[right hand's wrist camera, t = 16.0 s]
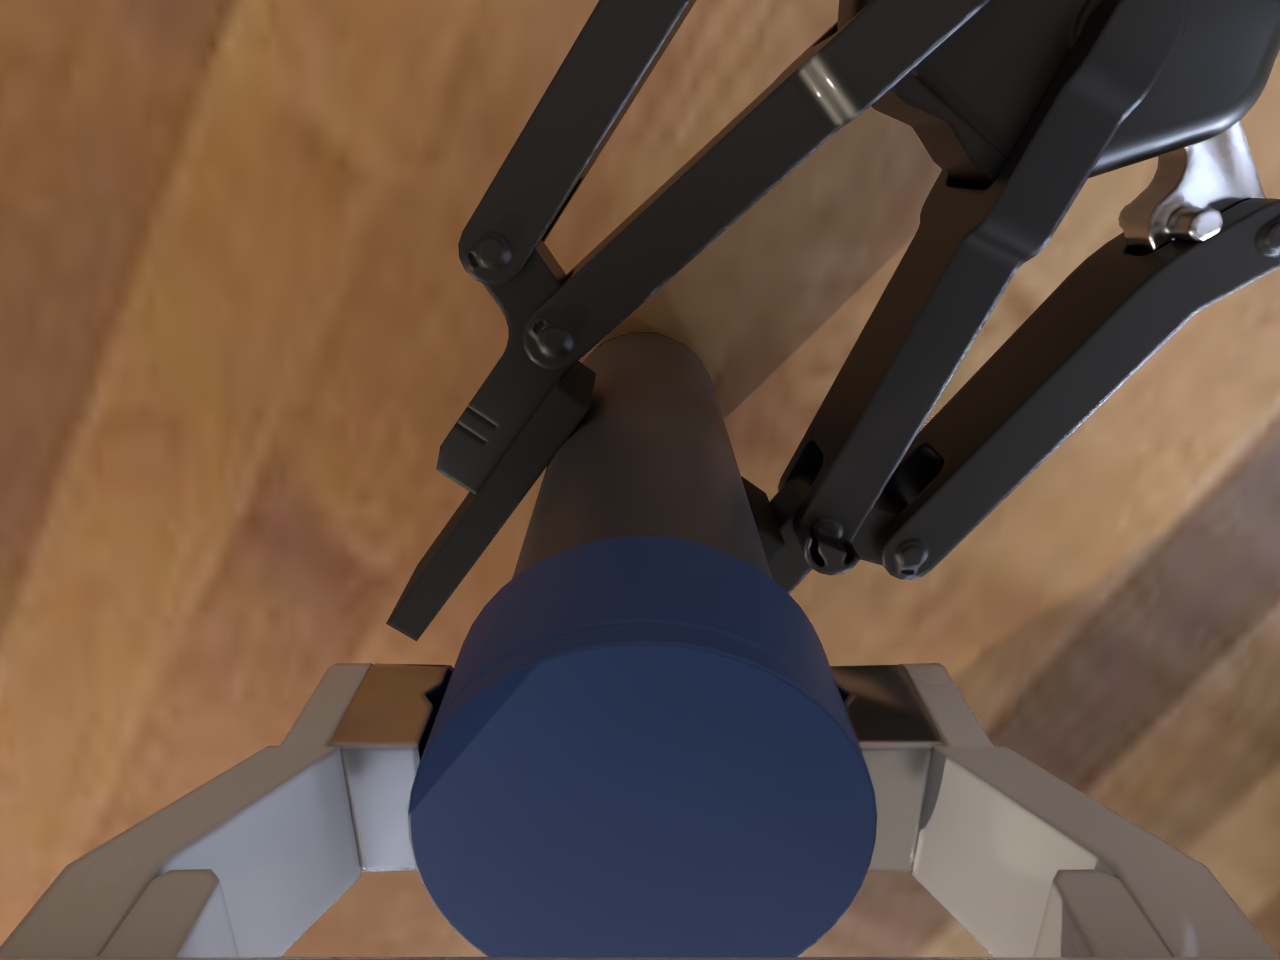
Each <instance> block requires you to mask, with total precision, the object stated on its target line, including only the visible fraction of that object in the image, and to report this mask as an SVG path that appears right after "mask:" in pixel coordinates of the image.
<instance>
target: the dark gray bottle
mask: <svg viewBox="0 0 1280 960" xmlns="http://www.w3.org/2000/svg"><path fill="white" fill-rule="evenodd" d="M582 364H584V365H585V366H587V367H588V368H589V369H591V370H592V371H594V372H595V373H596V377H595V383H594V388H593V394H592V399H591V404H590V409H589V410H588V412H587V413H586V414H585V416H584V417H583V418H582V420H581V421H580V422H579V424H578V425H577V426H576V428H575V429H574V430H573V432H572V433H571V434H570V436H569V437H568V438H567V440H566V441H565V442H564V444H563V445H562V447H561V448H560V449H559V450H558V451H557V453H556V454H555V456H554V457H553V459H552V460H551V461H550V463H549V464H548V465H547V469H546V472H545V475H544V478H543V481H542V485H541V488H540V491H539V494H538V498H537V501H536V504H535V507H534V510H533V514H532V517H531V520H530V523H529V527H528V530H527V533H526V536H525V540H524V543H523V546H522V549H521V552H520V556H519V559H518V562H517V565H516V569H515V572H514V575H513V578H512V579H514V578H515V577H516V576H517V575H518V574H520V573H521V572H523V571H525V570H526V569H528V568H530V567H531V566H533V565H534V564H536V563H538V562H539V561H541V560H543V559H545V558H548V557H550V556H552V555H554V554H557V553H559V552H561V551H563V550H566V549H569V548H572V547H575V546H579V545H582V544H585V543H588V542H593V541H598V540H604V539H609V538H615V537H630V536H655V537H670V538H675V539H681V540H686V541H692V542H696V543H699V544H703V545H706V546H709V547H712V548H716V549H719V550H721V551H724V552H726V553H728V554H730V555H732V556H735V557H737V558H739V559H741V560H744V561H745V562H747V563H749V564H750V565H752V566H753V567H755V568H757V569H758V570H760V571H761V572H763V573H765V574H766V575H767V576H769V577H770V578H771V579H772V580H773V578H772V575H771V572H770V568H769V565H768V562H767V559H766V556H765V552H764V549H763V546H762V543H761V539H760V536H759V533H758V530H757V527H756V523H755V520H754V517H753V514H752V511H751V507H750V504H749V501H748V498H747V494H746V491H745V488H744V485H743V482H742V478H741V475H740V472H739V469H738V466H737V462H736V459H735V456H734V453H733V449H732V446H731V443H730V440H729V437H728V433H727V430H726V427H725V424H724V421H723V417H722V414H721V411H720V408H719V404H718V401H717V398H716V395H715V392H714V388H713V385H712V382H711V379H710V377H709V374H708V372H707V370H706V369H705V367H704V365H703V364H702V362H701V361H700V360H699V358H698V357H697V356H696V355H695V354H694V353H693V352H692V351H691V350H689V349H688V348H687V347H686V346H684V345H683V344H681V343H679V342H678V341H676V340H673V339H671V338H669V337H666V336H662V335H659V334H653V333H631V334H626V335H622V336H619V337H616V338H614V339H611V340H609V341H607V342H606V343H604V344H602V345H601V346H599V347H598V348H597V349H595V350H594V351H593V352H592V353H591V354H590V355H589V356H588V357H587V358H586V360H585V361H584V362H583V363H582Z"/></svg>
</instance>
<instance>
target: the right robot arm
mask: <svg viewBox="0 0 1280 960" xmlns="http://www.w3.org/2000/svg"><path fill="white" fill-rule="evenodd" d="M830 668H831V671H832V673H833V676H834V679H835V681H836V684H837V687H838V689H839V692H840V695H841V697H842V700H843V703H844V705H845V708H846V711H847V714H848V716H849V719H850V722H851V724H852V727H853V730H854V732H855V735H856V738H857V740H858V744H859V747H860V749H861V751H862V754H863V757H864V759H865V762H866V765H867V767H868V770H869V774H870V777H871V781H872V784H873V788H874V791H875V799H876V808H877V830H876V842H875V846H874V850H873V855H872V859H871V863H870V866H869V869H868V871H900V872H913V874H912V875H913V876H914V878H915V879H916V880H917V881H918V882H919V883H920V884H921V885H922V886H923V887H924V888H925V889H926V890H927V891H928V892H929V893H930V894H931V895H932V896H933V897H934V898H935V899H936V900H937V901H938V902H939V903H940V904H941V905H942V906H943V907H944V908H945V909H946V910H947V911H948V912H949V913H950V914H951V915H952V916H953V917H954V918H955V919H956V920H957V921H958V922H959V923H960V924H961V925H962V926H963V927H964V928H965V929H966V930H967V931H968V932H969V933H970V934H971V935H972V936H973V937H974V938H975V939H976V940H977V941H978V942H979V943H980V944H981V945H982V946H983V947H984V948H985V949H986V950H987V951H988V952H989V953H990V954H991V955H992V956H993V957H281V956H282V955H283V954H284V953H285V952H286V951H287V950H288V949H289V948H290V947H291V946H292V945H293V944H294V943H295V942H296V941H297V940H298V939H299V938H300V937H301V936H302V935H303V934H304V933H305V932H306V931H307V930H308V929H309V928H310V927H311V926H312V925H313V924H314V923H315V922H316V921H317V920H318V919H319V918H320V917H321V916H322V915H323V914H324V913H325V912H326V911H327V910H328V909H329V908H330V907H331V906H332V905H333V904H334V903H335V902H336V901H337V900H338V899H339V898H340V897H341V896H342V895H343V894H344V893H345V892H346V891H347V890H348V889H349V888H350V887H351V886H352V885H353V884H354V883H355V882H356V881H357V880H358V879H359V878H360V877H361V872H374V871H408V870H417V868H416V866H415V863H414V858H413V854H412V849H411V845H410V840H409V826H408V810H409V802H410V794H411V789H412V785H413V782H414V779H415V775H416V772H417V769H418V766H419V763H420V760H421V757H422V755H423V752H424V749H425V747H426V744H427V741H428V738H429V735H430V733H431V730H432V727H433V724H434V722H435V719H436V716H437V713H438V711H439V708H440V705H441V702H442V700H443V697H444V694H445V691H446V689H447V686H448V683H449V680H450V678H451V675H452V672H453V669H454V668H453V667H452V665H418V664H374V665H373V664H371V663H347V664H335V665H333V666H331V667H329V668H328V669H327V671H326V672H325V674H324V676H323V677H322V679H321V680H320V682H319V684H318V685H317V687H316V689H315V690H314V692H313V693H312V695H311V697H310V698H309V700H308V702H307V703H306V705H305V706H304V708H303V710H302V711H301V713H300V715H299V716H298V718H297V719H296V721H295V723H294V724H293V726H292V727H291V729H290V731H289V732H288V734H287V736H286V737H285V739H284V740H283V742H282V744H281V745H280V746H267V747H266V748H264V749H262V750H261V751H259V752H257V753H256V754H254V755H252V756H250V757H249V758H247V759H245V760H244V761H242V762H240V763H239V764H237V765H235V766H234V767H232V768H230V769H229V770H227V771H225V772H224V773H222V774H220V775H218V776H217V777H215V778H213V779H212V780H210V781H208V782H207V783H205V784H203V785H202V786H200V787H198V788H197V789H195V790H193V791H192V792H190V793H188V794H186V795H185V796H183V797H181V798H180V799H178V800H176V801H175V802H173V803H171V804H170V805H168V806H166V807H165V808H163V809H161V810H160V811H158V812H156V813H154V814H153V815H151V816H149V817H148V818H146V819H144V820H143V821H141V822H139V823H138V824H136V825H134V826H133V827H131V828H129V829H128V830H126V831H124V832H122V833H121V834H119V835H117V836H116V837H114V838H112V839H111V840H109V841H107V842H106V843H104V844H102V845H101V846H99V847H97V848H96V849H94V850H92V851H90V852H89V853H87V854H85V855H84V856H82V857H80V858H79V859H77V860H75V861H74V862H72V863H70V864H69V865H67V866H66V867H65V868H64V869H63V871H62V872H61V873H60V874H59V876H58V877H57V878H56V879H55V880H54V882H53V883H52V884H51V885H50V887H49V888H48V889H47V890H46V892H45V893H44V894H43V895H42V896H41V898H40V899H39V900H38V901H37V903H36V904H35V905H34V906H33V907H32V909H31V910H30V911H29V912H28V914H27V915H26V916H25V917H24V919H23V920H22V921H21V922H20V923H19V925H18V926H17V927H16V928H15V930H14V931H13V932H12V933H11V934H10V936H9V937H8V938H7V939H6V941H5V942H4V943H3V944H2V946H1V947H0V960H1280V957H1278V956H1277V955H1276V953H1275V952H1274V951H1273V950H1272V948H1271V947H1270V946H1269V944H1268V943H1267V942H1266V941H1265V939H1264V938H1263V937H1262V936H1261V934H1260V933H1259V932H1258V931H1257V929H1256V928H1255V927H1254V926H1253V924H1252V923H1251V922H1250V921H1249V919H1248V918H1247V917H1246V916H1245V914H1244V913H1243V912H1242V911H1241V909H1240V908H1239V907H1238V906H1237V904H1236V903H1235V902H1234V901H1233V899H1232V898H1231V897H1230V896H1229V894H1228V893H1227V892H1226V891H1225V889H1224V888H1223V887H1222V886H1221V884H1220V883H1219V882H1218V880H1217V879H1216V878H1215V877H1214V875H1213V874H1212V873H1211V872H1210V870H1209V869H1208V868H1207V867H1206V866H1204V865H1202V864H1201V863H1199V862H1197V861H1196V860H1194V859H1192V858H1191V857H1189V856H1187V855H1186V854H1184V853H1182V852H1181V851H1179V850H1177V849H1176V848H1174V847H1172V846H1171V845H1169V844H1167V843H1166V842H1164V841H1163V840H1161V839H1159V838H1158V837H1156V836H1154V835H1153V834H1151V833H1149V832H1148V831H1146V830H1144V829H1143V828H1141V827H1139V826H1138V825H1136V824H1134V823H1133V822H1131V821H1129V820H1128V819H1126V818H1124V817H1123V816H1121V815H1119V814H1118V813H1116V812H1114V811H1113V810H1111V809H1109V808H1108V807H1106V806H1104V805H1103V804H1101V803H1099V802H1098V801H1096V800H1094V799H1093V798H1091V797H1089V796H1088V795H1086V794H1084V793H1083V792H1081V791H1079V790H1078V789H1076V788H1074V787H1073V786H1071V785H1069V784H1068V783H1066V782H1064V781H1063V780H1061V779H1059V778H1058V777H1056V776H1054V775H1053V774H1051V773H1049V772H1048V771H1046V770H1044V769H1043V768H1041V767H1039V766H1038V765H1036V764H1034V763H1033V762H1031V761H1029V760H1028V759H1026V758H1024V757H1023V756H1021V755H1019V754H1018V753H1016V752H1014V751H1013V750H1011V749H1009V748H1008V747H1006V746H993V745H992V743H991V742H990V740H989V738H988V737H987V735H986V733H985V732H984V730H983V729H982V727H981V725H980V724H979V722H978V720H977V719H976V717H975V715H974V714H973V712H972V711H971V709H970V707H969V706H968V704H967V702H966V701H965V699H964V698H963V696H962V694H961V693H960V691H959V689H958V688H957V686H956V684H955V683H954V681H953V680H952V678H951V676H950V675H949V673H948V671H947V670H946V668H945V667H944V666H942V665H941V664H939V663H920V664H899V665H868V666H830Z"/></svg>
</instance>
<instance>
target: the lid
mask: <svg viewBox="0 0 1280 960" xmlns="http://www.w3.org/2000/svg"><path fill="white" fill-rule="evenodd" d="M408 826H409V840H410V845H411V849H412V854H413V858H414V863H415V866H416V868H417V871H418V873H419V875H420V878H421V880H422V883H423V885H424V887H425V889H426V891H427V892H428V894H429V896H430V897H431V899H432V901H433V902H434V904H435V906H436V907H437V908H438V910H439V911H440V912H441V913H442V915H443V916H444V917H445V918H446V920H447V921H448V922H449V923H450V925H451V926H452V927H453V928H454V929H456V930H457V931H458V932H459V933H460V934H461V935H462V936H463V937H464V938H465V939H466V940H467V941H468V942H469V943H470V944H472V945H473V946H474V947H476V948H477V949H478V950H480V951H481V952H482V953H484V954H485V955H486V956H488V957H797V956H798V955H800V954H801V953H802V952H804V951H805V950H806V949H808V948H809V947H811V946H812V945H813V944H815V943H816V942H817V941H818V940H819V939H820V938H821V937H822V936H823V935H824V934H825V933H826V932H827V931H828V930H830V929H831V928H832V927H833V926H834V925H835V923H836V922H837V921H838V920H839V918H840V917H841V916H842V915H843V913H844V912H845V911H846V910H847V908H848V907H849V906H850V904H851V902H852V901H853V899H854V897H855V896H856V894H857V892H858V891H859V889H860V887H861V886H862V883H863V881H864V878H865V876H866V873H867V871H868V869H869V866H870V863H871V859H872V855H873V850H874V846H875V842H876V830H877V808H876V799H875V791H874V788H873V784H872V781H871V777H870V774H869V770H868V767H867V765H866V762H865V759H864V757H863V754H862V751H861V749H860V747H859V744H858V740H857V738H856V735H855V732H854V730H853V727H852V724H851V722H850V719H849V716H848V714H847V711H846V708H845V705H844V703H843V700H842V697H841V695H840V692H839V689H838V687H837V684H836V681H835V679H834V676H833V673H832V671H831V668H830V665H829V662H828V660H827V657H826V654H825V652H824V649H823V646H822V644H821V642H820V640H819V638H818V635H817V633H816V631H815V629H814V627H813V625H812V624H811V622H810V621H809V619H808V618H807V616H806V615H805V613H804V612H803V610H802V609H801V607H800V606H799V605H798V604H797V603H796V602H795V601H794V599H793V598H792V597H791V596H790V595H789V594H788V593H787V592H786V591H785V590H784V589H783V588H782V587H781V586H780V585H778V584H777V583H776V582H775V581H773V580H772V579H771V578H770V577H769V576H767V575H766V574H765V573H763V572H761V571H760V570H758V569H757V568H755V567H753V566H752V565H750V564H749V563H747V562H745V561H744V560H741V559H739V558H737V557H735V556H732V555H730V554H728V553H726V552H724V551H721V550H719V549H716V548H712V547H709V546H706V545H703V544H699V543H696V542H692V541H686V540H681V539H675V538H670V537H655V536H630V537H615V538H609V539H604V540H598V541H593V542H588V543H585V544H582V545H579V546H575V547H572V548H569V549H566V550H563V551H561V552H559V553H557V554H554V555H552V556H550V557H548V558H545V559H543V560H541V561H539V562H538V563H536V564H534V565H533V566H531V567H530V568H528V569H526V570H525V571H523V572H521V573H520V574H518V575H517V576H516V577H515V578H514V579H512V580H511V581H510V582H509V583H507V584H506V585H505V586H504V587H502V588H501V589H500V590H499V591H498V592H497V594H496V595H495V596H494V597H493V598H492V599H491V600H490V601H489V602H488V603H487V604H486V605H485V607H484V608H483V610H482V611H481V612H480V614H479V615H478V617H477V618H476V620H475V621H474V623H473V624H472V626H471V628H470V630H469V632H468V634H467V636H466V638H465V640H464V642H463V645H462V647H461V650H460V653H459V656H458V658H457V661H456V664H455V667H454V669H453V672H452V675H451V678H450V680H449V683H448V686H447V689H446V691H445V694H444V697H443V700H442V702H441V705H440V708H439V711H438V713H437V716H436V719H435V722H434V724H433V727H432V730H431V733H430V735H429V738H428V741H427V744H426V747H425V749H424V752H423V755H422V757H421V760H420V763H419V766H418V769H417V772H416V775H415V779H414V782H413V785H412V789H411V794H410V802H409V810H408Z"/></svg>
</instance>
